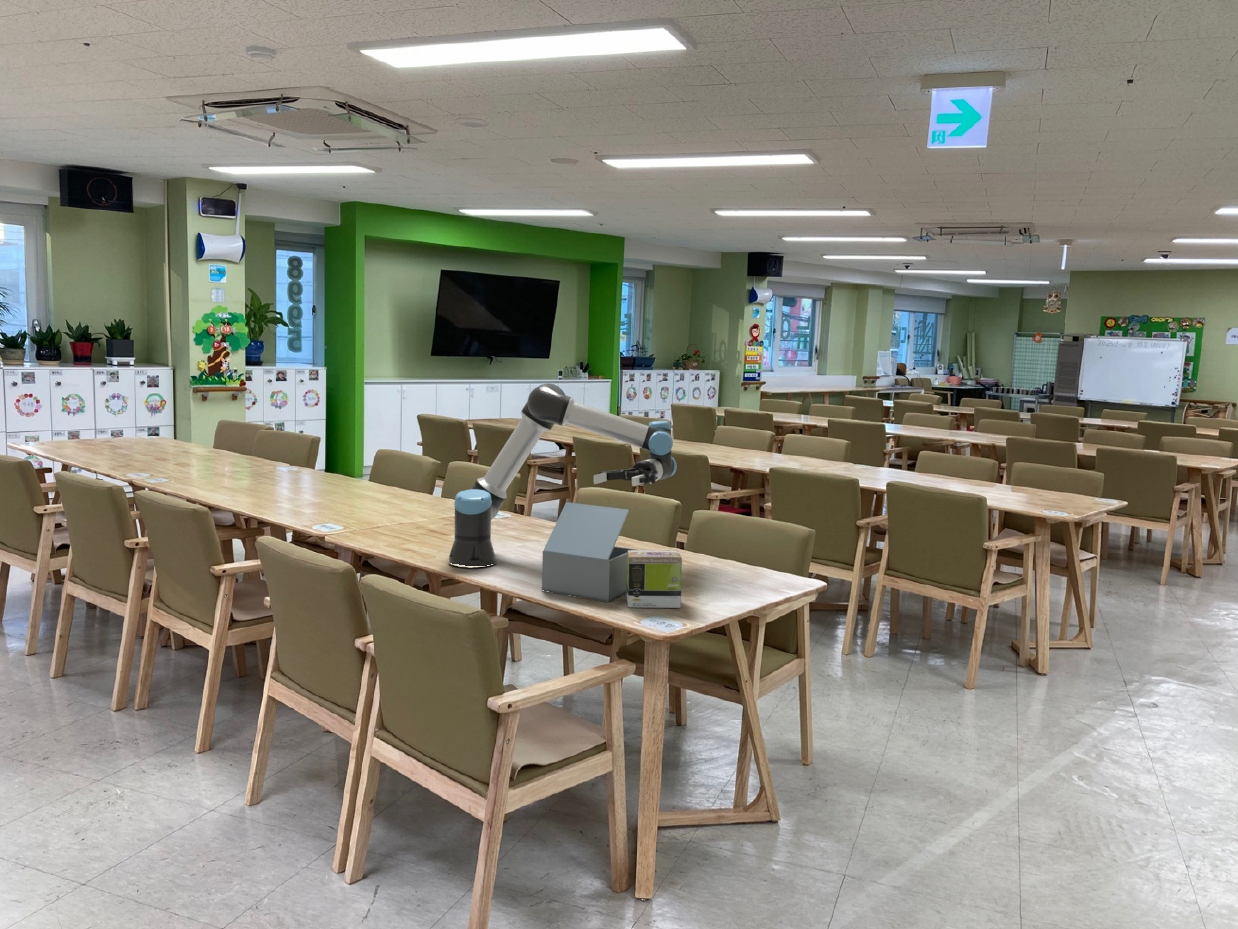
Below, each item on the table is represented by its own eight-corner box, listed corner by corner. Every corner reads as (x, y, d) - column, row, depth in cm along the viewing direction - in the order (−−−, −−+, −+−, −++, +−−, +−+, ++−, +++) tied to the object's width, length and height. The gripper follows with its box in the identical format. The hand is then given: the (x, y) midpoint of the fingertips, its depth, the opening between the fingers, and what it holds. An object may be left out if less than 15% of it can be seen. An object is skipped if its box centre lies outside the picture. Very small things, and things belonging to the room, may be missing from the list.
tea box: (677, 599, 273) (679, 549, 271) (680, 609, 263) (683, 557, 261) (625, 598, 273) (627, 548, 271) (626, 608, 263) (628, 556, 261)
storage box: (541, 591, 277) (542, 551, 276) (572, 578, 293) (573, 540, 292) (608, 602, 268) (609, 561, 266) (636, 588, 283) (637, 549, 282)
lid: (544, 551, 276) (543, 550, 275) (566, 503, 285) (566, 502, 285) (608, 560, 266) (607, 559, 266) (629, 510, 276) (628, 509, 275)
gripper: (681, 485, 303) (649, 495, 285) (614, 481, 315) (579, 490, 297) (680, 462, 302) (649, 470, 284) (613, 458, 314) (578, 466, 296)
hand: (613, 480), depth 290 cm, fingers open, 13 cm apart
